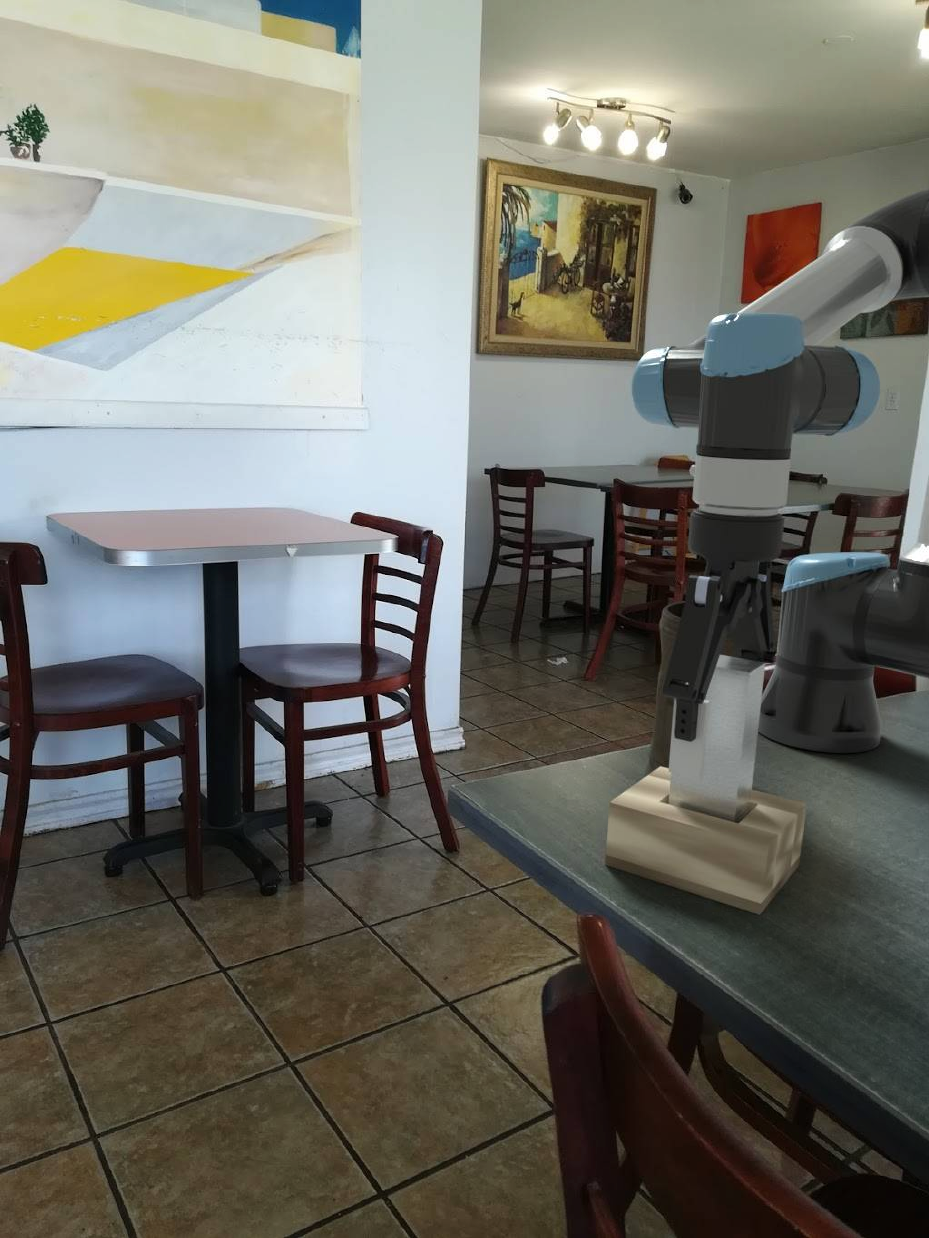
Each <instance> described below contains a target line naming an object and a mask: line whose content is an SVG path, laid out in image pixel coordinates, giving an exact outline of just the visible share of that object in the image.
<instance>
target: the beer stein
mask: <svg viewBox="0 0 929 1238" xmlns="http://www.w3.org/2000/svg"><path fill="white" fill-rule="evenodd" d="M684 605H685V600H683V601H678V602H674V603H670V604H667V605H666V606H665V607H664V608H663V609H662V613H661V618H660V620H659V624H658V625H659V627H658V629H659V636H660V646H661V648H660V649H661V664H660V667H659V668H660V669H659V672H658V675H657V676H658V677H657V688H656V702H655V704H656V705H655V712H654V713H655V715H654V725H653V734H652V739H651V743H650V745H649V747H648V750H647V756H648V763H647V764H646V768H645V770H644V773H643V774H644V776H643V778H645V777H646V776H647V775H649V774H650V773H652V772H653V771H654V770H656V769H657V768H659V767H660V766H661V767H665V768H669V759H670V747H671V734H672V722H673V709H674V698H670V697H666V696H663V693H662V691H663V686H664V683H665V679H666V675H667V671H668V667H669V663H670V659H671V655H672V651H673V647H674V644H675V640H676V636H677V632H678V628H679V624H680V620H681V616H682V612H683V608H684ZM720 655H725V656H730V657H736V658H738V656H737V652H736V648H735V644H734V640H733V636H732V632H729V633H728V634H727V635H726V638H725V641H724V644H723V647H722V650H721V653H720ZM741 659H742V658H741Z"/></svg>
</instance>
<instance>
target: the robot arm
mask: <svg viewBox="0 0 929 1238" xmlns="http://www.w3.org/2000/svg"><path fill="white" fill-rule="evenodd" d="M915 298H916V299H917V298H929V187H928V188H925V189H921V190H917V191H916V192H913V193H910V194H908V195H905V196H903V197H900V198H898V199H896V200H893V201H892V202H890V203H888V204H886V205H883V206H882V207H880V208H878V209H876V210H874V211H873V212H870V213H868V214H867V215H865V216H864V217H862V218H860V219H859V220H857V221H855V222H853V223H852V224H850V225H849V226H848V227H846V228H845V229H843V230H841V231H840V232H838V233H837V234H836V235H834V236H833V237H832V239H830V241H828V243H827V244H826V246H825V248H824V249H823V252H822V255H821V256H819V257H818V258H816V259H815V260H814V261H812V262H810V263H809V264H808V265H806V266H805V267H803V268H802V269H800V270H798V271H797V272H796V273H794V274H792V275H791V276H789V277H788V278H787V279H785V280H784V281H783V282H780V284H778V285H776V286H775V287H773V288H772V289H771V290H769V291H767V292H766V293H765V294H763V295H762V296H761V297H758V298H757V299H756V300H754V301H753V302H751V303H750V304H749V305H747V306H745V307H743V308H742V309H741V310H740V311H738V312H734V313H726V314H725V313H724V314H719V315H718V316H716V317H714V318H712V319H711V320H710V322H709V324H708V325H707V329H706V333H705V334H704V335H702V336H701V337H700V338H697V339H696V340H695V341H692V342H691V343H690V344H687V345H685V346H679V347H677V346H675V345H669V346H667V347H662V348H659V347H658V348H654V349H651V350H648V351H647V352H646V353H645V354H643V356H641V358H640V360H639V361H638V362H637V364H636V366H635V367H634V372H633V374H632V379H631V396H632V399H633V403H634V408H635V410H636V412H637V413H638V415H639V416H640V417H641V418H642V419H643V420H644V421H646V422H647V423H650V424H653V425H660V426H667V427H672V428H673V429H680V428H689V429H690V428H694V429H695V428H696V429H697V430H698V432H697V433H698V434H697V444H696V448H695V450H696V451H695V460H694V461H695V464H692V465H691V466H690V468H689V474H690V475H691V476H692V477H693V485H692V487H693V490H692V501H693V502H694V503H695V504H697V505H698V507H697V508H694V509H693V510H692V512H691V513H690V514H689V515H690V517H689V530H688V544H687V548H688V550H689V553H691V554H693V555H694V556H697V557H701V558H703V559H704V560H705V561H706V566H705V569H704V573H703V575H702V576H701V575H695V574H690V575H689V576H688V579H687V582H686V583H687V584H686V590H685V597H684V598H685V600H684V601H685V605H684V608H683V612H682V616H681V620H680V624H679V628H678V632H677V636H676V640H675V644H674V647H673V651H672V655H671V659H670V663H669V667H668V671H667V675H666V679H665V683H664V686H663V691H662V693H663V696H666V697H670V698H674V709H673V722H672V734H671V747H670V759H669V772H671V773H675V774H679V775H683V776H687V777H691V778H695V779H699V780H700V779H701V778H702V777H703V773H704V762H705V751H706V739H707V728H708V717H709V705H710V701H708V700H705V698H706V694H707V691H708V688H709V685H710V682H711V679H712V676H713V674H714V671H715V668H716V665H717V662H718V659H719V656H720V653H721V650H722V647H723V644H724V641H725V638H726V635H727V634H728V633H729V632H732V636H733V640H734V644H735V648H736V652H737V656H738V658H742V659H747V660H752V661H758V662H763V663H765V664H766V663H767V664H771V665H773V664H774V662H775V664H774V665H775V666H774V670H773V672H772V673H771V674H772V675H771V676H770V678H769V681H768V682H767V685H766V687H765V689H764V691H763V692H762V698H761V707H760V717H759V726H758V733H760V734H761V735H763V736H764V737H766V738H768V739H770V740H773V741H775V742H776V743H780V744H783V745H786V746H789V747H793V748H797V749H798V748H799V749H802V750H808V751H815V752H822V753H831V754H833V753H834V754H835V753H836V754H850V753H851V754H853V753H863V752H868V751H871V750H873V749H875V748H877V747H878V746H879V745H880V743H881V736H882V730H883V723H882V718H881V715H880V710H879V706H878V700H877V696H876V691H875V686H874V672H875V667H878V668H881V669H887V670H891V671H894V672H900V673H902V674H907V675H912V676H916V677H920V678H924V679H929V476H928V478H927V484H926V490H925V494H924V501H923V507H922V512H921V517H920V523H919V529H918V536H917V541H916V542H915V544H914V545H913V546H912V547H910V548H908V550H906V551H905V552H903V553H902V554H900V555H899V559H898V564H897V565H898V566H897V569H891V568H889V567H890V566H891V562H890V559H889V556H888V555H887V554H885V553H878V552H866V551H865V552H864V551H862V552H858V551H857V552H855V551H854V552H853V551H851V552H847V551H845V552H841V551H840V552H823V553H822V552H821V553H820V552H819V553H810V554H802V555H799V556H798V555H797V556H796V557H794V558H793V559H792V560H790V562H788V564H787V567H786V571H785V577H784V582H783V587H782V588H781V594H782V595H781V606H780V615H779V625H778V634H777V635H778V636H777V644H776V645H777V647H776V652H775V651H773V649H774V648H775V636H774V635H775V633H774V618H773V617H774V616H773V602H772V589H771V573H772V566H773V563H772V561H774V560H776V559H778V558H779V557H780V556H781V553H782V544H783V536H784V527H785V526H784V525H785V518H784V517H783V515H782V514H781V513H780V512H779V509H783V508H784V507H786V506H787V502H788V490H789V480H790V470H791V469H790V468H791V459H792V458H791V454H792V453H791V452H792V443H793V436H794V435H798V436H799V435H800V436H801V435H802V436H803V435H804V436H805V435H806V436H807V435H809V436H810V435H816V436H823V435H824V436H826V437H832V436H835V435H836V434H842V433H848V432H852V431H853V430H855V429H857V428H859V427H860V426H862V425H863V424H864V423H865V422H866V421H868V419H869V418H870V417H871V416H872V414H873V413H874V411H875V409H876V407H877V405H878V402H879V399H880V394H881V382H880V376H879V373H878V370H877V369H876V366H875V365H874V363H873V362H872V361H871V360H870V359H869V358H868V356H866V355H865V354H863V353H861V352H860V351H857V350H855V349H854V350H853V349H849V348H848V349H847V348H846V347H845V346H842V345H835V346H830V345H829V346H828V345H827V346H826V345H825V346H824V345H819V344H820V343H822V342H823V341H824V340H826V339H827V338H829V337H830V336H831V335H833V334H834V333H835V332H837V331H838V330H840V328H842V327H843V326H845V325H846V324H847V323H848V322H851V320H852V319H854V318H855V317H856V316H858V315H859V314H861V313H862V314H864V313H871V312H875V311H879V310H880V309H882V308H884V307H885V306H887V305H888V304H890V303H891V302H893V301H898V300H899V301H900V300H905V299H915ZM687 682H688V685H687V684H686V683H687Z"/></svg>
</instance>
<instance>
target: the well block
mask: <svg viewBox="0 0 929 1238" xmlns="http://www.w3.org/2000/svg"><path fill="white" fill-rule="evenodd" d="M670 780H671V772H669V768H665V767H661V766H660V767H659V768H657V769H656V770H654V771H653V772H652V773H650V774H649V775H647V776H646V777H645V778H644V777H643V778H641V779H640V780H639V781H638V782H636V783H635V784H633V785H632V786H630V787H629V788H628V789H626V790H625V791H624V792H622V793H620V794H619V795H618V796H616V797H615V798H614V799H612V800H611V801H609V807H608V819H607V834H606V835H607V836H606V846H605V863H604V865H605V866H608V867H610V868H614V869H617V870H620V871H623V872H626V873H629V874H632V875H636V876H638V877H641V878H645V879H647V880H651V881H654V882H657V883H660V884H663V885H667V886H669V887H673V888H675V889H678V890H682V891H685V892H687V893H692V894H694V895H697V896H700V897H703V898H706V899H709V900H712V901H716V902H719V903H722V904H725V905H728V906H730V907H733V908H737V909H740V910H743V911H747V912H749V913H753V914H755V915H759V916H760V915H761V914H762V913H763V912H764V911H765V910H766V907H768V905H769V904H770V903H771V902H772V900H774V898H775V897H776V895H777V894H778V893H779V891H780V890H781V889H782V888H783V887H784V886H785V884H786V883H787V882H788V880H789V879H790V877H791V876H793V874H794V872H796V871H797V869H798V868H799V866H800V861H801V854H802V845H803V836H804V828H805V821H806V820H805V819H806V813H807V803H806V802H801V801H798V800H794V799H790V798H786V797H781V796H779V795H776V794H775V795H774V794H771V793H766V792H764V791H763V792H762V791H758V790H755V789H752V791H751V801H750V810H749V814H748V815H747V816H746V817H745V818H744V819H743V820H742V821H741V822H740V823H739V824H738V823H734V822H731V821H727V820H724V819H720V818H716V817H713V816H709V815H705V814H702V813H698V812H694V811H691V810H687V809H684V808H680V807H676V806H673V805H669V804H668V803H669V792H670Z"/></svg>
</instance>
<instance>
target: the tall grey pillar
mask: <svg viewBox="0 0 929 1238" xmlns="http://www.w3.org/2000/svg"><path fill="white" fill-rule="evenodd" d="M765 667H766V663H765V662H758V661H752V660H747V659H741V658H736V657H730V656H725V655H720V656H719V659H718V662H717V665H716V668H715V671H714V674H713V676H712V679H711V682H710V685H709V688H708V691H707V694H706V698H705V700H708V701H710V705H709V717H708V728H707V739H706V751H705V762H704V773H703V777H702V778H701V779H700V780H699V779H695V778H691V777H687V776H683V775H679V774H675V773H671V780H670V792H669V803H668V804H669V805H673V806H676V807H680V808H684V809H687V810H691V811H694V812H698V813H702V814H705V815H709V816H713V817H716V818H720V819H724V820H727V821H731V822H734V823H738V824H739V823H740V822H741V821H742V820H743V819H744V818H745V817H746V816H747V815H748V814H749V810H750V801H751V791H752V790H753V780H754V771H755V763H756V753H757V745H758V744H757V743H758V735H759V734H758V733H759V731H758V726H759V717H760V707H761V698H762V695H763V687H764V678H765ZM686 684H687V685H688V682H687V683H686Z"/></svg>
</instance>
